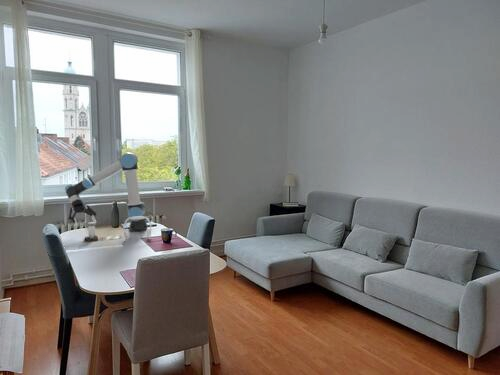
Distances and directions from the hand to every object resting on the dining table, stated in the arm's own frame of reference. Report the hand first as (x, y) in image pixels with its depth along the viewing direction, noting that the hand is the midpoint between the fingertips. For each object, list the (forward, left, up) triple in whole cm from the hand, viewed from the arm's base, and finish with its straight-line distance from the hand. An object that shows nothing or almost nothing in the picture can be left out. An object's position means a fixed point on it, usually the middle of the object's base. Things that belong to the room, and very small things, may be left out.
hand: (86, 224), depth 259 cm
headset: (-34, +13, -13) cm, 39 cm away
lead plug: (-3, +4, -11) cm, 12 cm away
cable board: (-10, +4, -12) cm, 17 cm away
